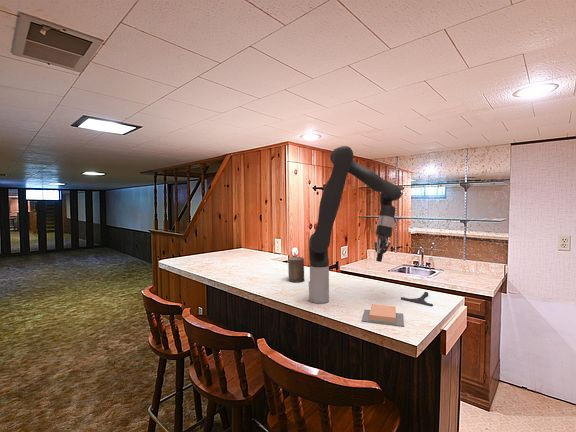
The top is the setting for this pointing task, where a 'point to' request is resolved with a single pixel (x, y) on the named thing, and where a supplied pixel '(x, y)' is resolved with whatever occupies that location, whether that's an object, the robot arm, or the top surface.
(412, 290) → the top surface
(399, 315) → the mat
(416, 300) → the bracket
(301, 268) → the pillar candle
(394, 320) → the tile
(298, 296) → the top surface
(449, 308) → the top surface
